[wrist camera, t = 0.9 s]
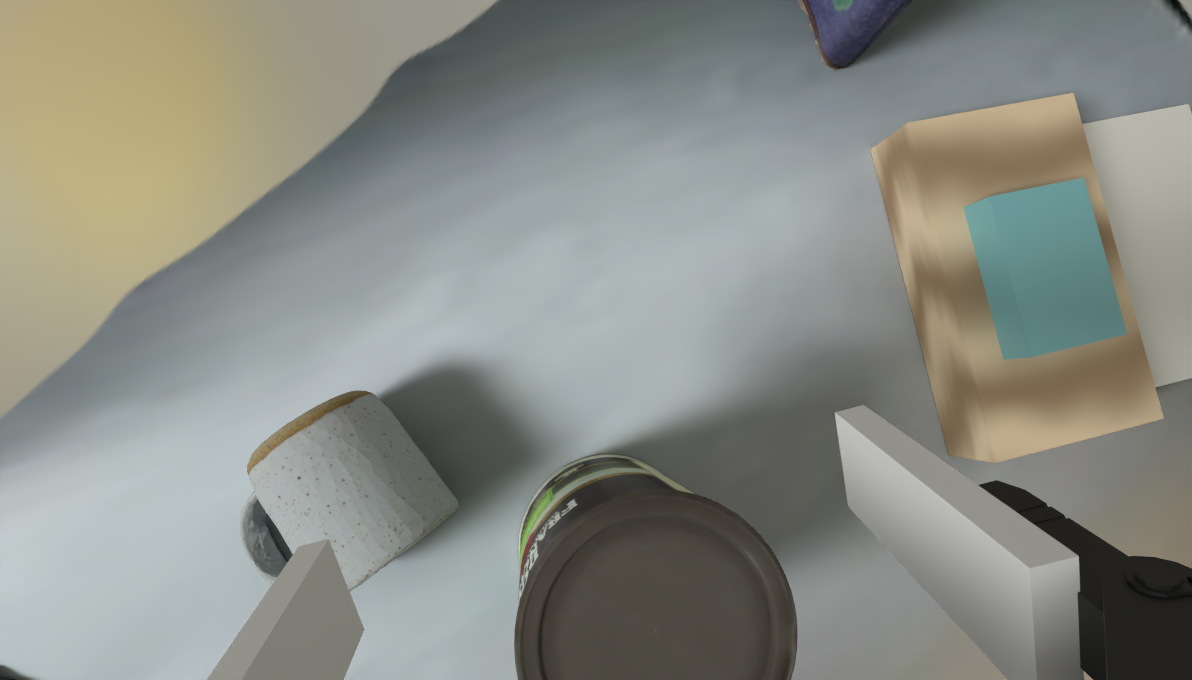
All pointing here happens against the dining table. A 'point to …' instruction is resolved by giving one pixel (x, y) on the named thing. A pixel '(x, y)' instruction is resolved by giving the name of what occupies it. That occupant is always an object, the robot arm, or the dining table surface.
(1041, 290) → the teal rectangular block
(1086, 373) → the tan flat rectangular slab
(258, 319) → the dining table surface
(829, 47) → the flask
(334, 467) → the ceramic mug
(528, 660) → the coffee can
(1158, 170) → the mat
